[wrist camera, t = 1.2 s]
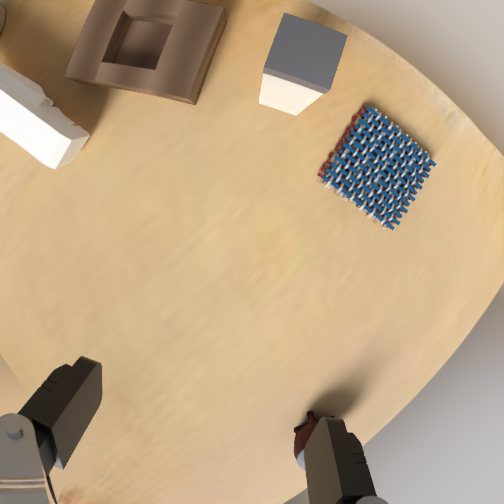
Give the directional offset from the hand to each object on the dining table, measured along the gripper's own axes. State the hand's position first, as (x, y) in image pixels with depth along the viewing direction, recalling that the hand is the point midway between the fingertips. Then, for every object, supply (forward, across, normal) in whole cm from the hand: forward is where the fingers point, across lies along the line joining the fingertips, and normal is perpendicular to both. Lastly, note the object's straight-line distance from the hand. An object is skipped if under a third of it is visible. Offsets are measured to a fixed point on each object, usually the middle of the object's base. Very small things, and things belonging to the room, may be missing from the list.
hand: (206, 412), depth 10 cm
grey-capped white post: (+25, 0, -16) cm, 30 cm away
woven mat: (+26, -12, -12) cm, 31 cm away
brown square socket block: (+24, +15, -18) cm, 34 cm away
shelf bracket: (+24, +30, -12) cm, 40 cm away
